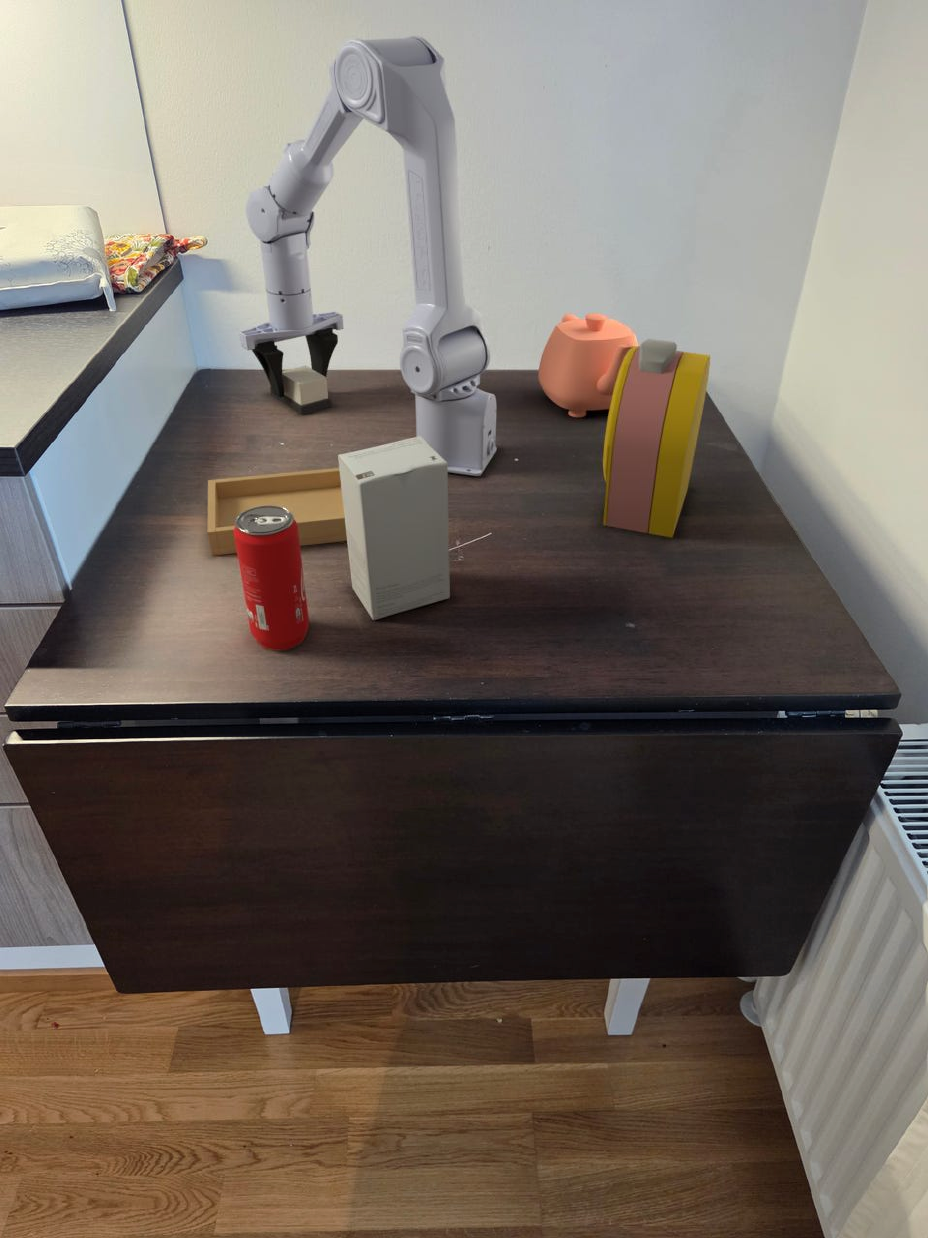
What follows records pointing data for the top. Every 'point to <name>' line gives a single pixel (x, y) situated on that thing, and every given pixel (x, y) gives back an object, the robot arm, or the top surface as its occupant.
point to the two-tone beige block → (304, 390)
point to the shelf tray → (299, 492)
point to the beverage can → (272, 576)
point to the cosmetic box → (396, 525)
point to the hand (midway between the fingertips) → (299, 389)
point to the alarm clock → (652, 436)
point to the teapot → (584, 362)
